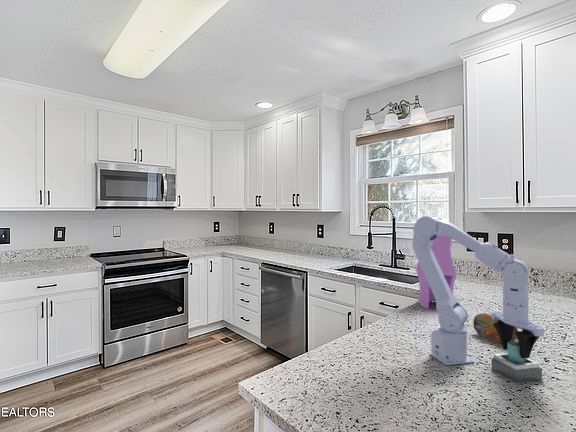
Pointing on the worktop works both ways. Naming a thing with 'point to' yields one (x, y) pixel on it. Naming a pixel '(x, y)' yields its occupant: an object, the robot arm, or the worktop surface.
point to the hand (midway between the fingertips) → (515, 353)
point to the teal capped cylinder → (514, 352)
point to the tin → (488, 328)
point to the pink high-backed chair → (443, 257)
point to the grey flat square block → (517, 369)
